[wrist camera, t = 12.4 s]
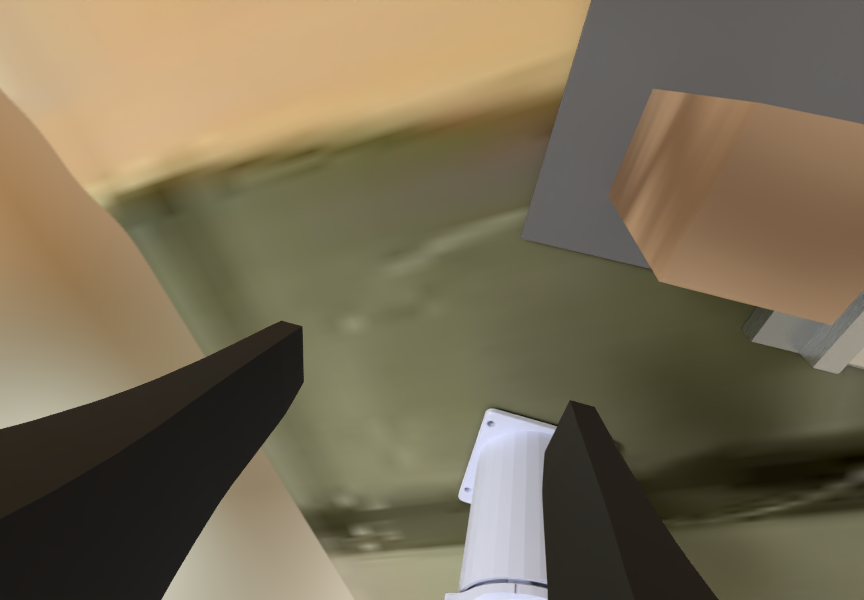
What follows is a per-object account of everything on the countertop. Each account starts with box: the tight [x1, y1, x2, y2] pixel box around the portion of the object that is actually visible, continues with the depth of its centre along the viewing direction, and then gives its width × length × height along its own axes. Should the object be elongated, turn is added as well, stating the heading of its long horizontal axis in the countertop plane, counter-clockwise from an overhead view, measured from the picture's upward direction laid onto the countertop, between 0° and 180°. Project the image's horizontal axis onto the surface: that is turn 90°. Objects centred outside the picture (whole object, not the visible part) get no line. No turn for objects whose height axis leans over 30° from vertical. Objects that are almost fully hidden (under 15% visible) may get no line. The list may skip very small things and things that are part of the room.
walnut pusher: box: [608, 89, 864, 325], centre depth 12 cm, size 4×4×8 cm
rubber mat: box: [521, 0, 864, 269], centre depth 15 cm, size 10×10×1 cm
